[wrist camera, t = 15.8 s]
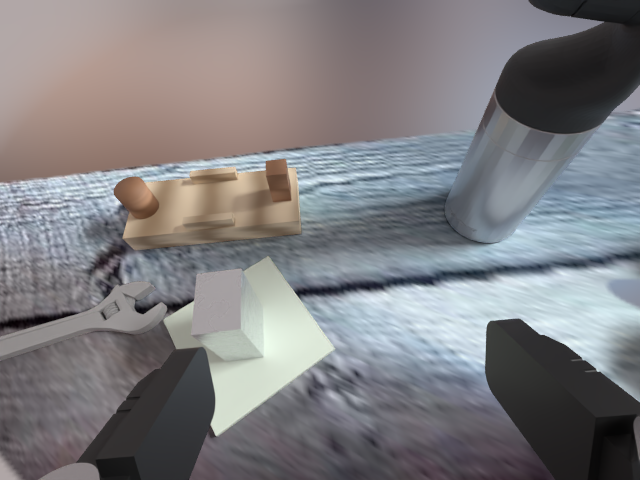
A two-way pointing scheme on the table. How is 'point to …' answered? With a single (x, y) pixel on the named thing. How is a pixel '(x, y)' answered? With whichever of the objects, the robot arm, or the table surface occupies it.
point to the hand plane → (211, 207)
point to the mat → (279, 348)
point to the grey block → (228, 315)
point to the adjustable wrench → (89, 321)
